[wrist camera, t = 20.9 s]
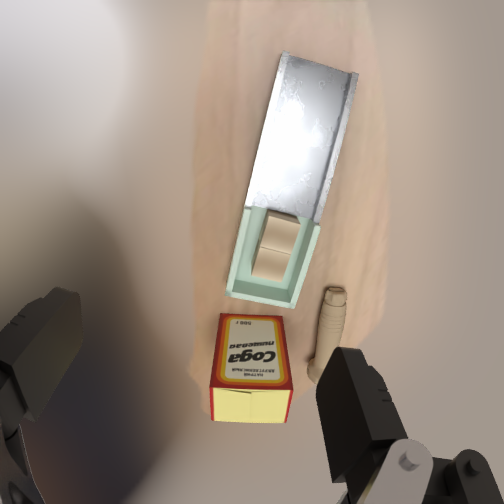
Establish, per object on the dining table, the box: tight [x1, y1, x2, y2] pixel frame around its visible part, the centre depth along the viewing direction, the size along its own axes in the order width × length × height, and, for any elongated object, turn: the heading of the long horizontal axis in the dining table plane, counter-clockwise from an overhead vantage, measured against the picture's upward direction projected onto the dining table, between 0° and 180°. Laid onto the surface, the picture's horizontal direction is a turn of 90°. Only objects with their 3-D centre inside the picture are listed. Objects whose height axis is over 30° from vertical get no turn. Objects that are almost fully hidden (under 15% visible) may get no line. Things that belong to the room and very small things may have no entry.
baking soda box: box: [209, 313, 293, 423], centre depth 41 cm, size 10×6×16 cm
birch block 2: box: [251, 238, 291, 282], centre depth 41 cm, size 4×4×4 cm
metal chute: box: [245, 51, 359, 224], centre depth 36 cm, size 20×10×3 cm, turn 167°
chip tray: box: [225, 204, 321, 309], centre depth 41 cm, size 12×10×4 cm
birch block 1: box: [259, 209, 301, 254], centre depth 40 cm, size 4×4×4 cm
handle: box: [307, 287, 347, 384], centre depth 46 cm, size 5×6×15 cm
